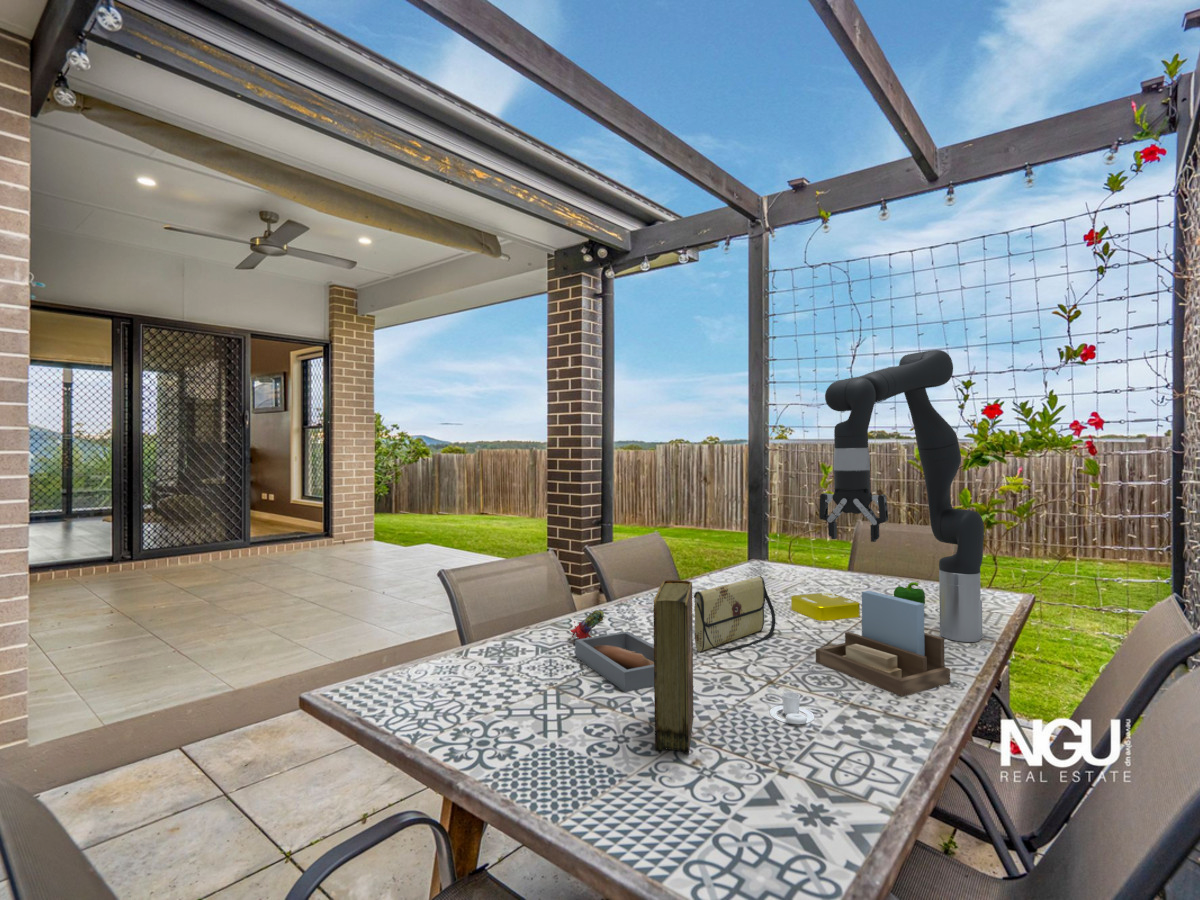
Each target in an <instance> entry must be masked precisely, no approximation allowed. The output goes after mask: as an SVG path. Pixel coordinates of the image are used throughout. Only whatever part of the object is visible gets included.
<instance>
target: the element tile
mask: <svg viewBox="0 0 1200 900" xmlns="http://www.w3.org/2000/svg"><path fill="white" fill-rule="evenodd" d="M790 598H791V599H790V600H791V601H790V604H791V606H790V609H791V611H793V612H796V613H799V614H801V615H802V616H804V617H805V616H806V617H808V618H810V619H813V620H815V621H819V622H828V621H836V620H847V619H854V618H856V619H857V618H860V616H861V613H860V610H861V608H860V607H861V606H860V602H859V601H856V600H853V599H851V598H847V597H844V596H842V595H838V594H835V593H833V592H828V591H827V592H826V591H825V592H819V593H806V594H805V593H804V594H796V595H791V597H790Z"/></svg>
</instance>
